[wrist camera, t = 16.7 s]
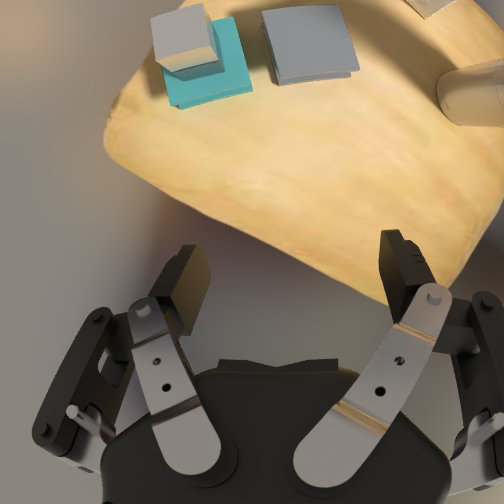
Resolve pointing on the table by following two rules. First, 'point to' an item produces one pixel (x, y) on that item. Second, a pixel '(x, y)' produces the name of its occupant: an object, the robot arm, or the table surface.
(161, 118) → the table surface
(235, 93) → the teal stand
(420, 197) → the table surface
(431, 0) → the coffeecake box
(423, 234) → the table surface
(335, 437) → the robot arm
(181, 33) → the block
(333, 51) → the slate stand
